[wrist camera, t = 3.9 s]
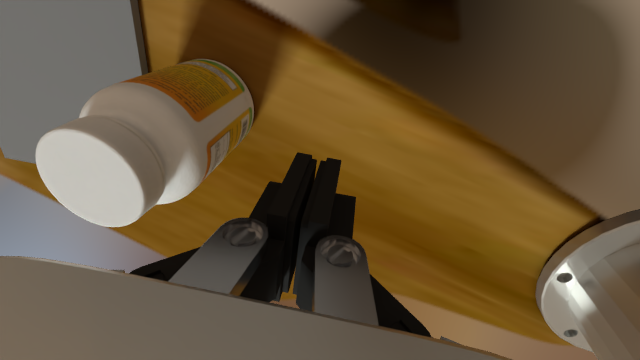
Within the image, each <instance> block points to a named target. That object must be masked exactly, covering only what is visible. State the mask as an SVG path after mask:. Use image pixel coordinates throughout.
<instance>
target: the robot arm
mask: <svg viewBox="0 0 640 360" xmlns="http://www.w3.org/2000/svg"><path fill="white" fill-rule="evenodd" d="M316 163H317V160H316V159H312V155H309V154H303V153H297V154H296V156H295V158H294V160H293V162H292V164H291V166H290V168H289V170H288V172H287V174H286V176H285V178H284V180H283V182H282V183H277V182H272V181H270V182H269V183H268V185H267V187H266V188H265V190H264V192H263V194H262V195H261V197H260V199H259V201H258V202H257V204H256V206H255V208H254V209H253V211H252V213H251V215H250V216H249V218H237V219H232V220H230V221H228V222H226V223H224V224H223V225H222V226H220V228H219V229H218V230H217V231H216V232H215V233H214V234H213V235H212V236H211V237H210V238H209V239H208V240H207V241H206V242H205V243H204V244H203V245H202V246H201V247H199V248H196V249H193V250H190V251H187V252H184V253H181V254H178V255H175V256H172V257H169V258H166V259H163V260H160V261H157V262H154V263H151V264H148V265H145V266H142V267H140V268H138V269H136V270H133V271H132V272H130V273H129V274H128V273H125V271H124V270H107V269H102V268H97V267H92V266H86V265H80V264H74V263H68V262H61V261H56V260H49V259H43V258H31V257H21V256H0V360H512V359H509V358H506V357H503V356H500V355H497V354H494V353H491V352H488V351H484V350H480V349H476V348H472V347H468V346H464V345H461V344H459V343H456V342H454V341H452V340H449V339H447V338H444V337H442V336H441V338H440V339H436V338H433V337H431V335H430V333H429V332H428V330H427V329H426V328H425V327H424V326H423V324H421V323H420V322H419V321H418V320H417V319H416V318H415V317H414V316H413V315H412V314H411V313H410V312H409V311H408V310H407V309H406V308H405V307H404V306H403V305H402V304H401V303H399V302H398V300H396V299H395V298H394V297H393V296H392V295H391V294H390V293H389V292H388V291H387V290H386V289H385V288H384V287H383V286H382V285H381V284H380V283H379V282H378V281H377V280H376V279H375V278H374V277H372V276H371V275H370V274H369V268H368V263H367V257H366V253H365V251H364V249H363V247H362V246H361V245H360V244H359V243H358V242H356V241H355V240H353V239H352V236H353V225H354V213H355V202H356V197H353V196H348V195H342V194H337V193H336V188H337V183H338V177H339V171H340V166H341V160H337V159H332V158H327V160H326V161H321V162H320V165H319V168H318V171H317V174H316V177H315V171H316ZM314 178H315V180H314ZM295 267H296V270H295ZM294 271H295V279H294V287H293V294H297V299H296V304H297V305H298V306H299V308H300V309H297V308H293V307H288V306H283V305H278V304H274V303H269V302H270V301H272V300H273V301H278V302H279V301H280V297H281V294H282V292H287V293H288V291H289V288H290V285H291V281H292V278H293V274H294ZM536 299H537V305H538V307H539V309H540V311H541V313H542V315H543V317H544V319H545V321H546V322H547V324H548V325H549V327H550V328H551V329H552V331H553V332H555V333H556V334H557V335H558V336H559V337H560V338H562V339H564V340H565V341H567V342H569V343H571V344H573V345H574V346H577V347H580V348H583V349H586V350H588V351H591V352H594V354H595V355H596V357H597V359H598V360H640V209H639V210H635V211H631V212H627V213H625V214H622V215H619V216H616V217H613V218H610V219H607V220H605V221H603V222H601V223H599V224H597V225H595V226H593V227H591V228H589V229H587V230H585V231H583V232H582V233H580V234H579V235H577V236H576V237H574V238H573V239H571V240H570V241H568V242H567V243H566V244H565V245H564V246H563V247H561V248H560V249H559V250H558V251H557V252H556V253H555V254H554V255H553V256H552V257H551V259H550V260H549V261H548V263H547V264H546V265H545V267H544V268H543V270H542V272H541V275H540V277H539V279H538V281H537V288H536Z"/></svg>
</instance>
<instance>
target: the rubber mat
mask: <svg viewBox="0 0 640 360" xmlns="http://www.w3.org/2000/svg"><path fill="white" fill-rule="evenodd" d="M147 73H148V68H147V61H146V55H145V48H144V41H143V35H142V28H141V21H140V14H139V8H138V1H137V0H0V147H1V149H2V152H3V154H4V156H5V158H10V159H15V160H20V161H25V162H30V163H36V157H35V154H36V147H37V144H38V142H39V140H40V139H41V137H42V136H43V135H45V134H46V133H47V132H48V131H50V130H52V129H54V128H56V127H59V126H61V125H63V124H66V123H68V122H70V121H73V120H75V119H78V118H79V116H80V113H81V110H82V108H83V107H84V105H85V103H86V102H87V101H88V100H89V99H90V98H91V97H92V96H93V95H94V94H95V93H97V92H98V91H100V90H102V89H104V88H106V87H109V86H111V85H114V84H116V83H119V82H123V81H126V80H129V79H132V78H135V77H138V76H141V75H145V74H147Z"/></svg>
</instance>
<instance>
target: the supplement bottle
mask: <svg viewBox="0 0 640 360" xmlns="http://www.w3.org/2000/svg"><path fill="white" fill-rule="evenodd" d="M253 118H254V105H253V100H252V97H251V94H250V92H249V90H248V88H247V86H246V85H245V83H244V82H243V80H242V79H241V78H240V77H239V76H238V75H237V74H236V73H235V72H234V71H233V70H232V69H230V68H229V67H227V66H226V65H224V64H222V63H220V62H217V61H214V60H209V59H195V60H190V61H186V62H182V63H179V64H177V65H174V66H170V67H167V68H164V69H161V70H158V71H154V72H151V73H147V74H145V75H141V76H138V77H135V78H132V79H129V80H126V81H123V82H119V83H116V84H114V85H111V86H109V87H106V88H104V89H102V90H100V91H98V92H97V93H95V94H94V95H93V96H92V97H91V98H90V99H89V100H88V101H87V102H86V103H85V105H84V107H83V108H82V110H81V113H80V116H79V118H78V119H75V120H73V121H70V122H68V123H66V124H63V125H61V126H59V127H56V128H54V129H52V130H50V131H48V132H47V133H46V134H45V135H43V136H42V137H41V139H40V140H39V142H38V144H37V147H36V154H35V157H36V164H37V168H38V171H39V174H40V176H41V178H42V180H43V182H44V183H45V185H46V187H47V188H48V189H49V191H50V192H51V193H52V194H53V195H54V197H55V198H56V199H57V200H58V201H59V202H60V203H61V204H63V205H64V206H65V207H66V208H67V209H69V210H70V211H71V212H73V213H74V214H76V215H78V216H79V217H81V218H83V219H85V220H87V221H89V222H92V223H95V224H98V225H101V226H106V227H121V226H126V225H129V224H131V223H133V222H135V221H136V220H137V219H139V218H140V217H141V216H142V215H143V214H145V213H146V212H147V211H148V210H149V209H151V208H152V207H153V206H154V205H155V204H166V203H171V202H174V201H177V200H180V199H182V198H183V197H185V196H186V195H188V194H189V193H190V192H192V191H193V190H194V189H195V188H196V187H197V186H198V185H199V184H200V183H201V182H202V181H203V180H204V179H205V178H206V177H207V176H208V175H209V174H210V173H211V172H212V171H213V170H214V169H215V168H216V167H217V166H218V165H219V164H220V163H221V162H222V161H223V159H224V158H225V157H226V156H227V155H228V154H229V153H230V152H231V151H232V150H233V149H234V148H235V147H236V146H237V145H238V144H239V143H240V142H241V141H242V140H243V139H244V137H245V136H246V135H247V133H248V132H249V130H250V128H251V126H252V123H253Z"/></svg>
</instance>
